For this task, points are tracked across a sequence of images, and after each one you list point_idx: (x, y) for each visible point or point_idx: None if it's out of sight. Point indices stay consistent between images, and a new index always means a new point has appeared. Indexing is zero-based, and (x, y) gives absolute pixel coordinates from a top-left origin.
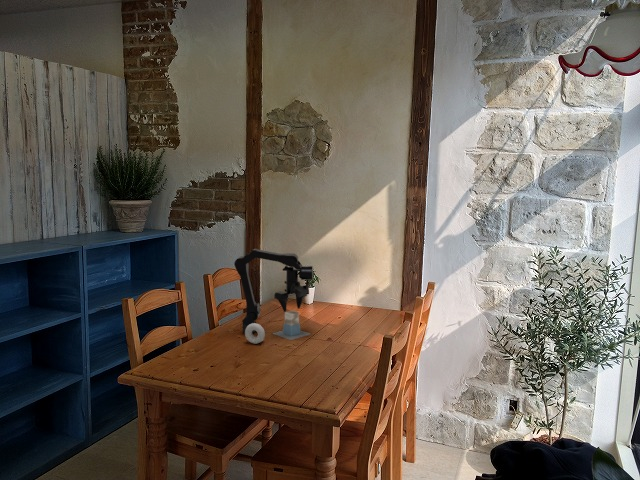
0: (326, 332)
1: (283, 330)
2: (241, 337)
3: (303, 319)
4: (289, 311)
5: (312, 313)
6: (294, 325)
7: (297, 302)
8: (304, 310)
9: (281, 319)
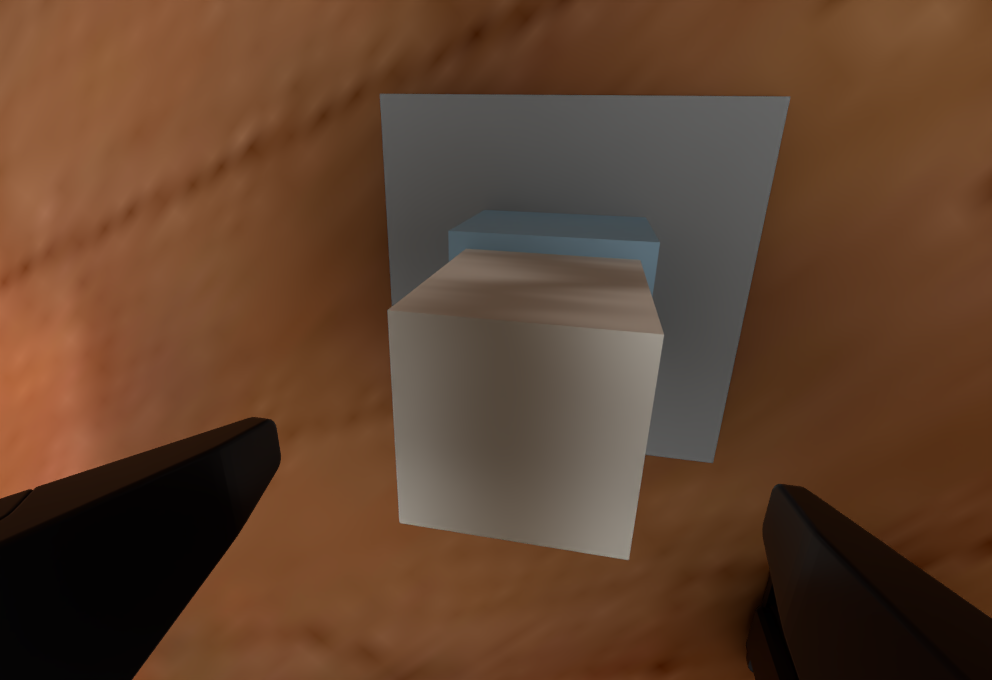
0: (169, 57)
1: None
2: None
3: None
4: (508, 513)
5: None
6: (579, 242)
7: (157, 598)
8: None
9: (295, 640)
